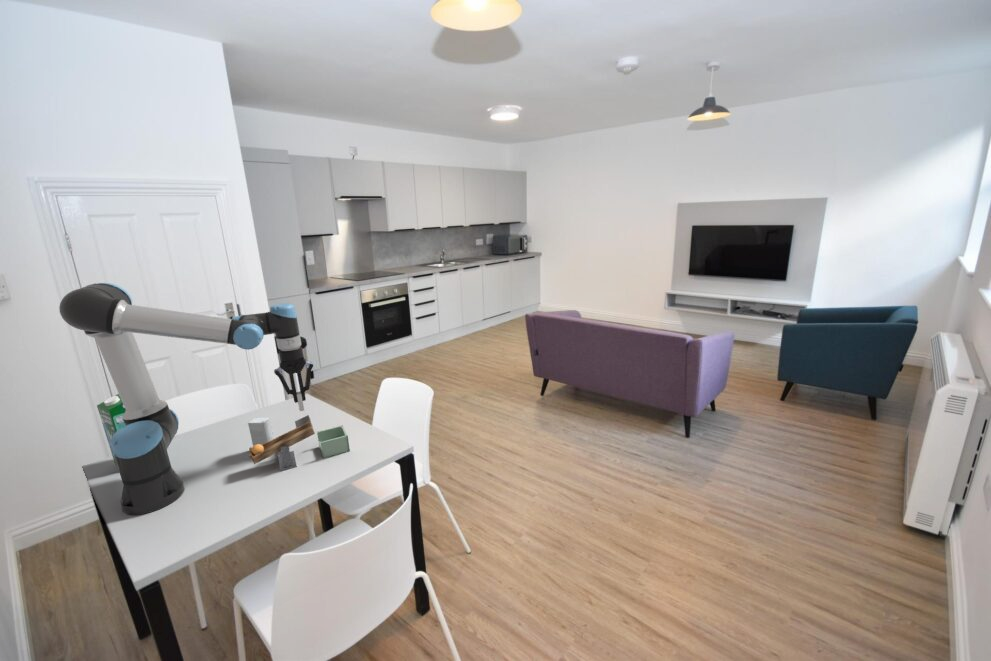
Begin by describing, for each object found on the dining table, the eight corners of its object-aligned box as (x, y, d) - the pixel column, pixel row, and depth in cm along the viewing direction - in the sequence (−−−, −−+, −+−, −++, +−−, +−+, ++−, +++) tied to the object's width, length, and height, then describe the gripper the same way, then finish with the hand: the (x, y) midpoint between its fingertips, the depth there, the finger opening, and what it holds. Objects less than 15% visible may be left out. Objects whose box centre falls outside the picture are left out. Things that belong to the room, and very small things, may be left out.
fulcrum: (280, 471, 143) (276, 449, 141) (278, 457, 152) (274, 436, 150) (296, 466, 146) (292, 445, 144) (293, 452, 155) (290, 432, 152)
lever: (254, 464, 141) (249, 456, 140) (253, 444, 154) (248, 436, 152) (314, 433, 149) (310, 425, 147) (309, 417, 161) (305, 409, 160)
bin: (323, 458, 150) (320, 443, 148) (319, 446, 158) (316, 431, 156) (349, 450, 154) (347, 435, 153) (344, 439, 162) (342, 425, 161)
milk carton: (114, 464, 152) (94, 398, 145) (144, 451, 160) (126, 389, 153) (127, 470, 148) (107, 403, 141) (157, 457, 155) (139, 393, 149)
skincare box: (276, 447, 159) (270, 417, 156) (269, 453, 155) (263, 423, 152) (261, 446, 160) (254, 417, 156) (253, 453, 155) (247, 423, 152)
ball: (254, 459, 142) (249, 450, 140) (254, 454, 145) (249, 445, 144) (265, 453, 143) (260, 445, 142) (265, 448, 146) (260, 440, 145)
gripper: (269, 354, 145) (282, 418, 151) (311, 346, 151) (322, 408, 157) (268, 348, 151) (281, 410, 158) (308, 341, 157) (319, 401, 164)
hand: (301, 409), depth 157 cm, fingers closed
